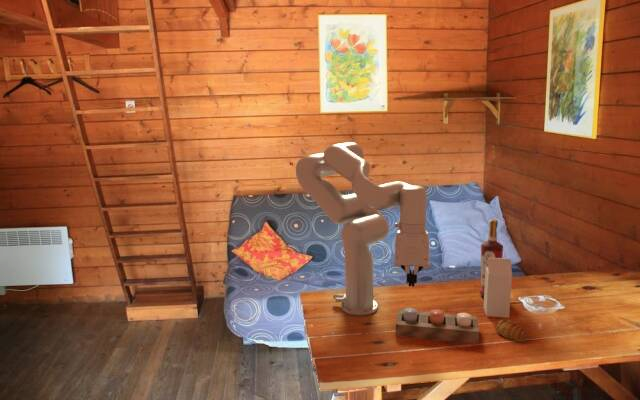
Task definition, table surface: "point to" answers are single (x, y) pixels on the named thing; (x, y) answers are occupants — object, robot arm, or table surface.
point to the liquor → (489, 251)
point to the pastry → (512, 330)
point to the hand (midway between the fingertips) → (411, 284)
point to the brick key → (436, 317)
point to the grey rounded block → (410, 315)
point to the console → (437, 328)
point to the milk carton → (497, 287)
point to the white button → (464, 319)
